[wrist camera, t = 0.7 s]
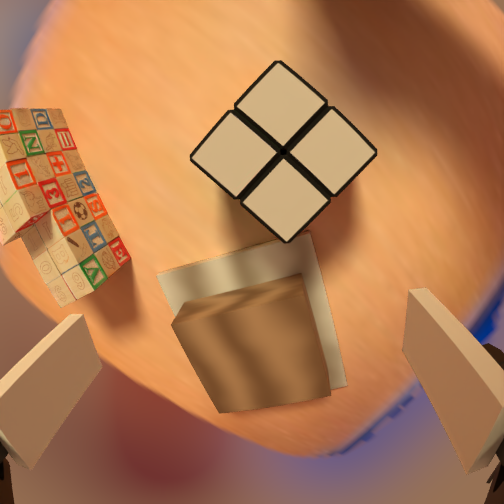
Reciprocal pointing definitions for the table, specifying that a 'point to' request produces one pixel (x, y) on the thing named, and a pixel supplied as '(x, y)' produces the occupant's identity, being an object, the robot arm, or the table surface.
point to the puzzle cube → (283, 152)
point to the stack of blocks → (54, 205)
